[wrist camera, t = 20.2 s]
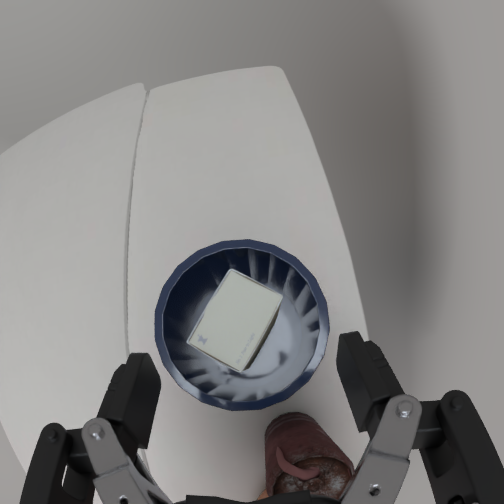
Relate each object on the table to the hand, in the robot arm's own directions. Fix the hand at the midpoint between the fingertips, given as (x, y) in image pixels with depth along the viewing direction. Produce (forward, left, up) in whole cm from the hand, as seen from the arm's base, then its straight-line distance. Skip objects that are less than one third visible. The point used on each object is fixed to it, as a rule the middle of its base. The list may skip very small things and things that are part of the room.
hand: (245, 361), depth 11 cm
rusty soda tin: (0, +10, -19) cm, 22 cm away
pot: (0, -3, -19) cm, 19 cm away
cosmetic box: (0, -3, -19) cm, 19 cm away
